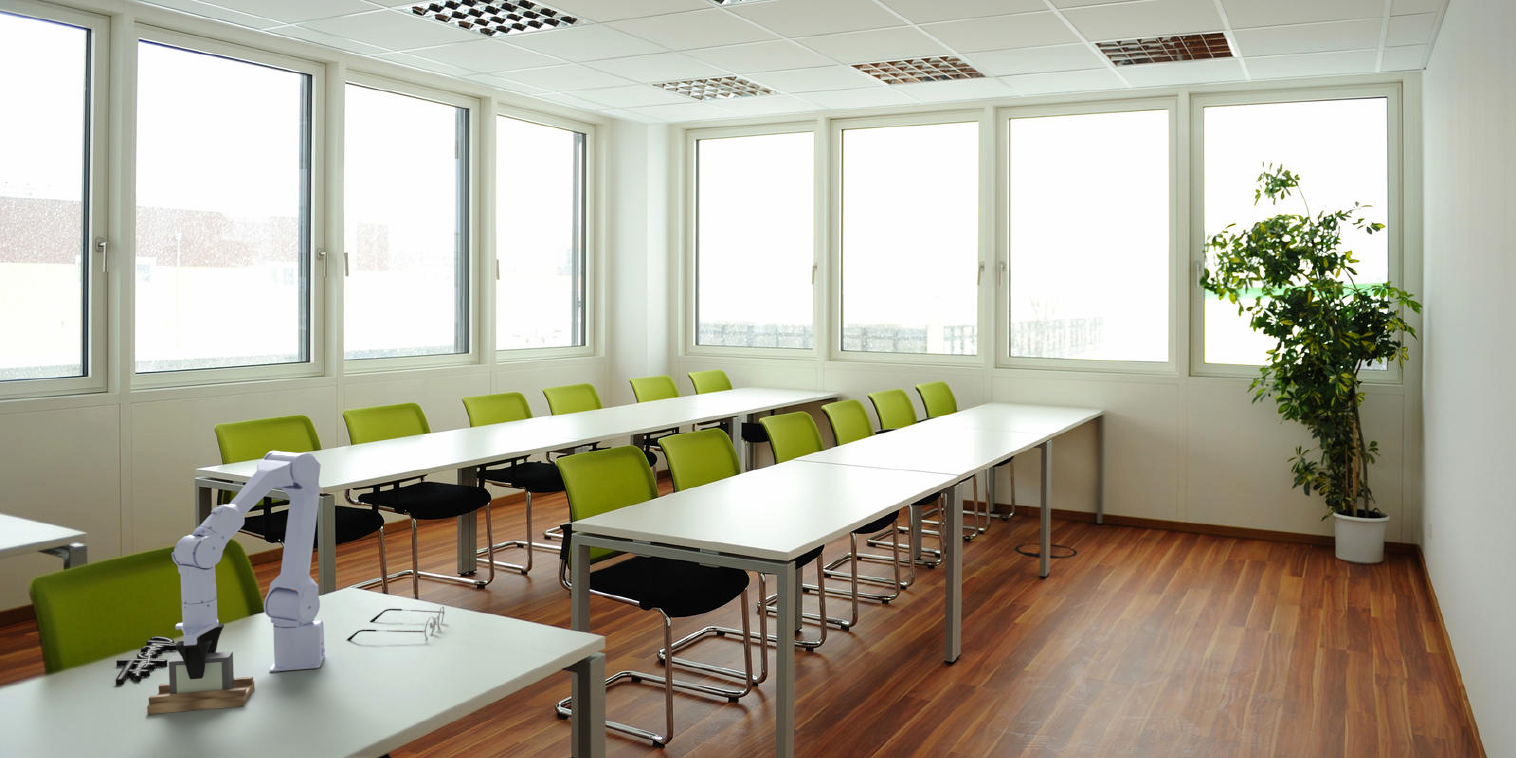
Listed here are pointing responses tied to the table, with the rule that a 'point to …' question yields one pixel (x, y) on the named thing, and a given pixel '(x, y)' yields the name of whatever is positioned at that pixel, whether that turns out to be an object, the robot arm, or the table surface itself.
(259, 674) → the table surface
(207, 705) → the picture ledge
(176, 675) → the grey block
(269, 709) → the table surface
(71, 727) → the table surface
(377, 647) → the table surface
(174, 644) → the nameplate
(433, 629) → the eyeglasses
